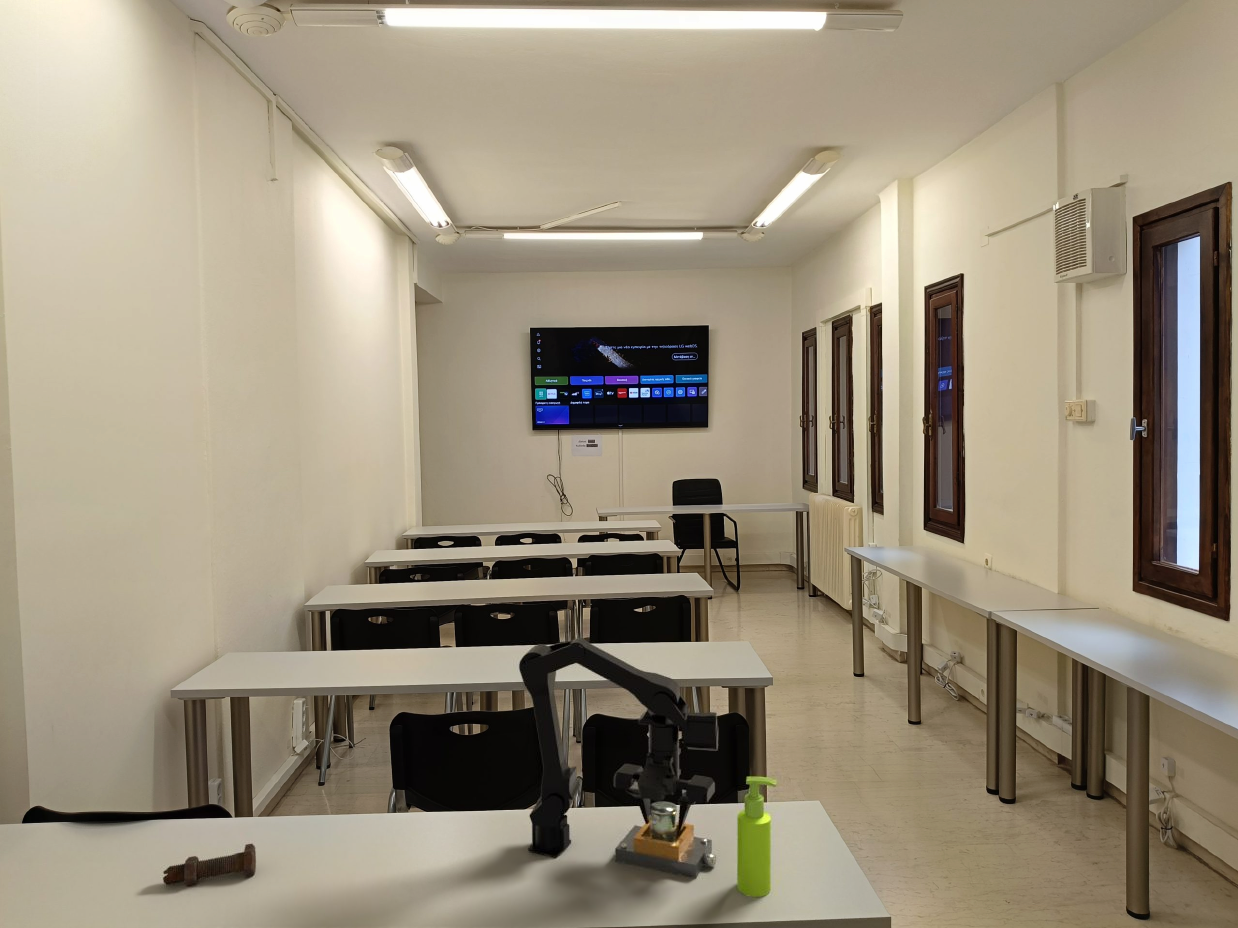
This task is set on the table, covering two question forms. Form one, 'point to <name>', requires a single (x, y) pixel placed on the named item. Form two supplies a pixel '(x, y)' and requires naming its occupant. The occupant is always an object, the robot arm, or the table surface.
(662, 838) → the spout can
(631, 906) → the table surface
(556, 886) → the table surface
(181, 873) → the bolt
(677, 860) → the grey orange socket fixture
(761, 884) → the soap dispenser
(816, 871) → the table surface
